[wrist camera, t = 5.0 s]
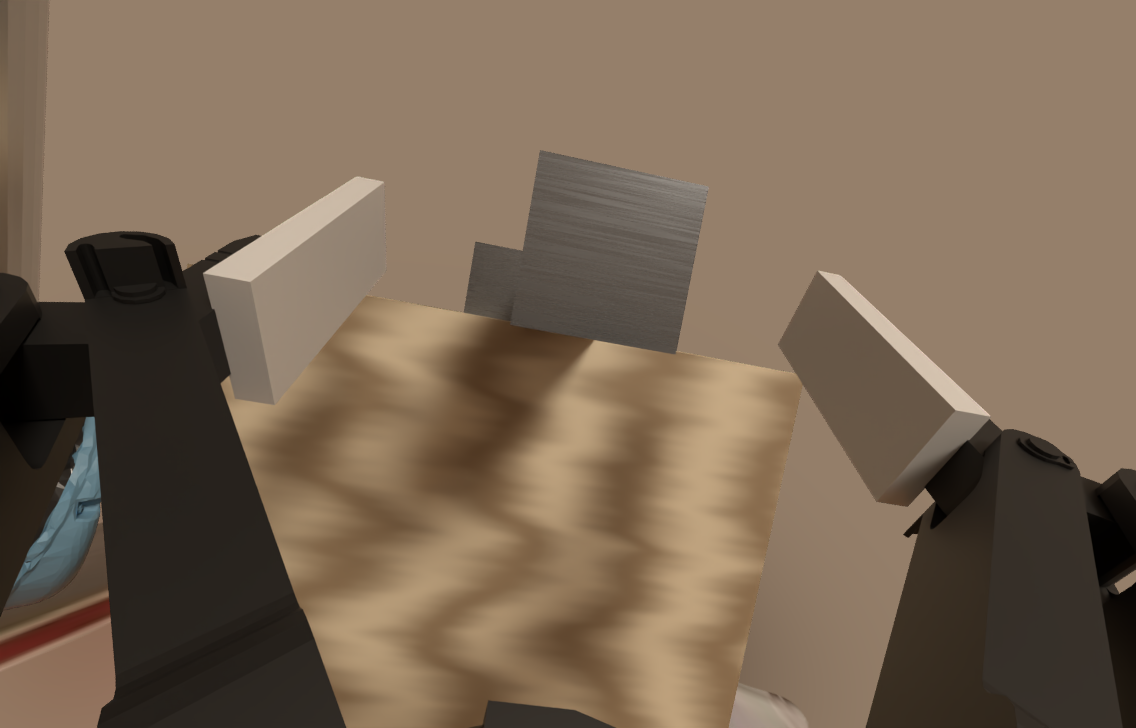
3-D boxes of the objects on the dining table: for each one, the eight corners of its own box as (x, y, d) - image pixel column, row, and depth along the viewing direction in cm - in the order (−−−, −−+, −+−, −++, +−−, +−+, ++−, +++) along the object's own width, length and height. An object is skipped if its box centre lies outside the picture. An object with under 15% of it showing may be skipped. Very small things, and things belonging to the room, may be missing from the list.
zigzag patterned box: (108, 903, 22) (187, 263, 20) (306, 630, 42) (356, 293, 40) (682, 937, 25) (804, 375, 23) (614, 665, 45) (676, 351, 43)
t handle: (293, 285, 9) (330, 21, 9) (472, 314, 39) (482, 252, 38) (862, 388, 10) (914, 156, 10) (616, 340, 40) (627, 280, 39)
